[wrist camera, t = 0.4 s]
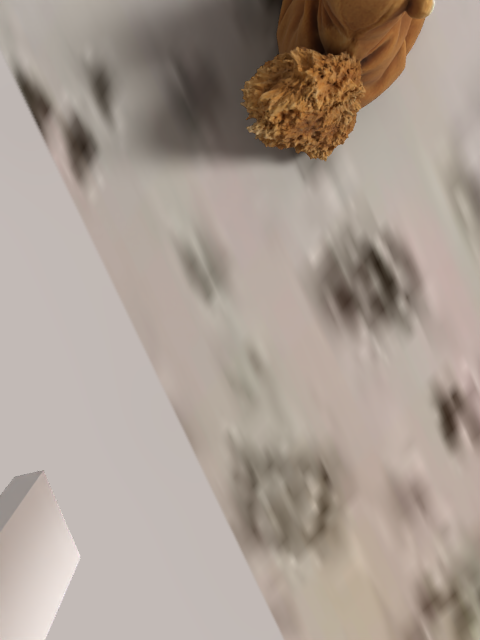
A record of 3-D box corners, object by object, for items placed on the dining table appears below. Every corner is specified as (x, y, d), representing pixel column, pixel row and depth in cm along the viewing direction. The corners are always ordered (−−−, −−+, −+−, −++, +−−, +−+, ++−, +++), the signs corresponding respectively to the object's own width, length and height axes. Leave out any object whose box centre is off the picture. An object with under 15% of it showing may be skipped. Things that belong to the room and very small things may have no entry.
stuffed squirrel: (430, 5, 32) (555, -118, 19) (340, 192, 36) (395, 191, 23) (305, -63, 31) (351, -240, 18) (224, 137, 34) (216, 105, 22)
